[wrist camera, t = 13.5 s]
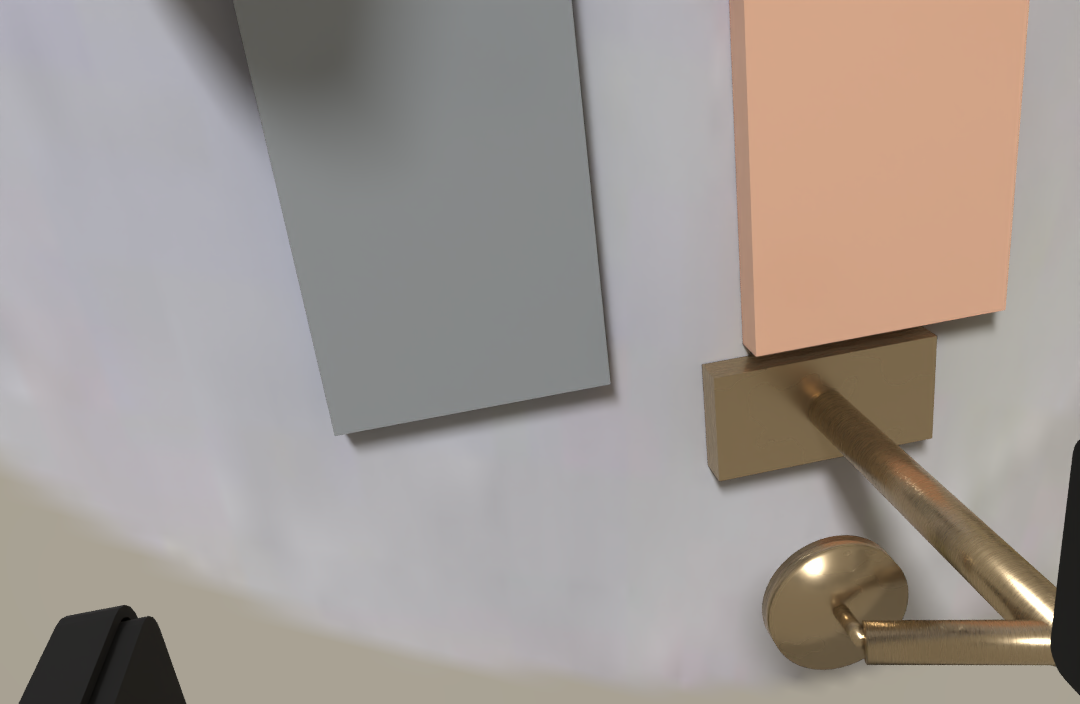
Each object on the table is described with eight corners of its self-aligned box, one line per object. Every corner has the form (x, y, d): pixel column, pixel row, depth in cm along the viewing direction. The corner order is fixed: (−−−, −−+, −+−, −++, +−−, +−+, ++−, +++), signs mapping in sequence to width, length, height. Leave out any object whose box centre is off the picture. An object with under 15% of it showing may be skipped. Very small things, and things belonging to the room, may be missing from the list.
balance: (973, 313, 34) (1407, 561, 20) (966, 412, 36) (1364, 708, 22) (643, 375, 33) (859, 690, 19) (651, 476, 34) (857, 835, 20)
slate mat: (554, -81, 27) (563, -83, 26) (602, 369, 32) (610, 384, 31) (229, -39, 26) (223, -39, 25) (335, 419, 31) (334, 436, 30)
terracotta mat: (1014, -141, 28) (1040, -145, 27) (984, 298, 34) (1005, 309, 33) (725, -104, 27) (740, -106, 26) (742, 343, 33) (755, 356, 32)
